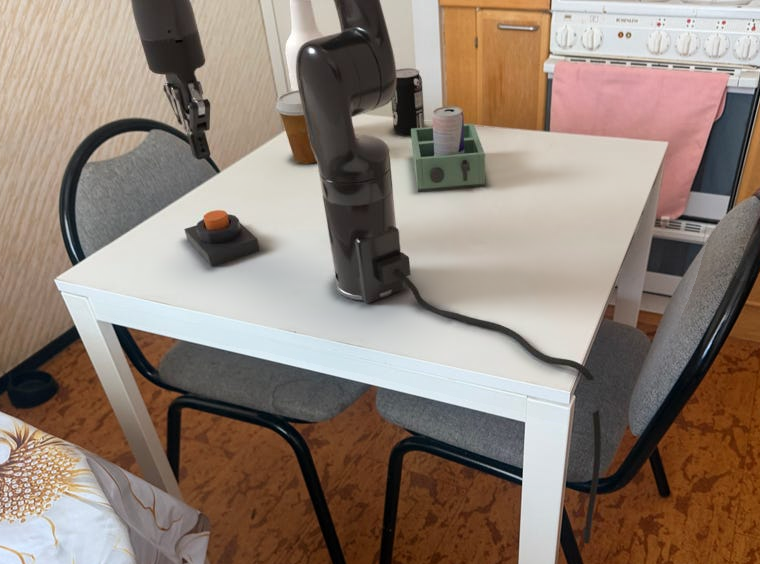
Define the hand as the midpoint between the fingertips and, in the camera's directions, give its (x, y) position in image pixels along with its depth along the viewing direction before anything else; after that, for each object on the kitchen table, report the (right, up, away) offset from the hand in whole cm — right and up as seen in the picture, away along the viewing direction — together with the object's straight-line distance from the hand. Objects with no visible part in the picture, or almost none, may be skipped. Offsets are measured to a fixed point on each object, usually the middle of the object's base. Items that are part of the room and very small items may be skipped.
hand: (202, 156), depth 103 cm
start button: (0, -9, +6) cm, 11 cm away
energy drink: (+37, +3, +24) cm, 44 cm away
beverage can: (+29, +18, +45) cm, 57 cm away
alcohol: (+10, +17, +45) cm, 49 cm away
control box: (+1, -12, +9) cm, 15 cm away
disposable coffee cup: (+10, +10, +36) cm, 39 cm away
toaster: (+37, +5, +27) cm, 46 cm away
